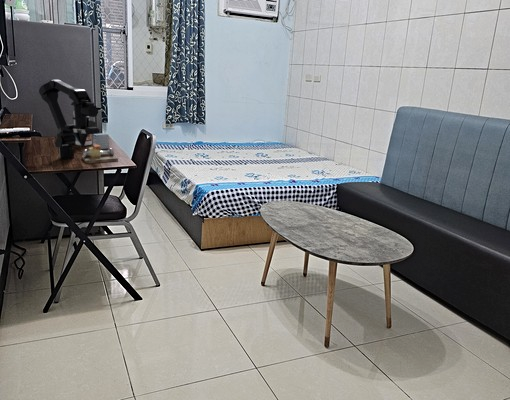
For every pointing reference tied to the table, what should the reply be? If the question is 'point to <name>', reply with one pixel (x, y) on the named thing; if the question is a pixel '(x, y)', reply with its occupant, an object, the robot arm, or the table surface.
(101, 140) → the medicine box
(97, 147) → the valve lever
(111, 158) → the valve board
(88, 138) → the fruit juice
